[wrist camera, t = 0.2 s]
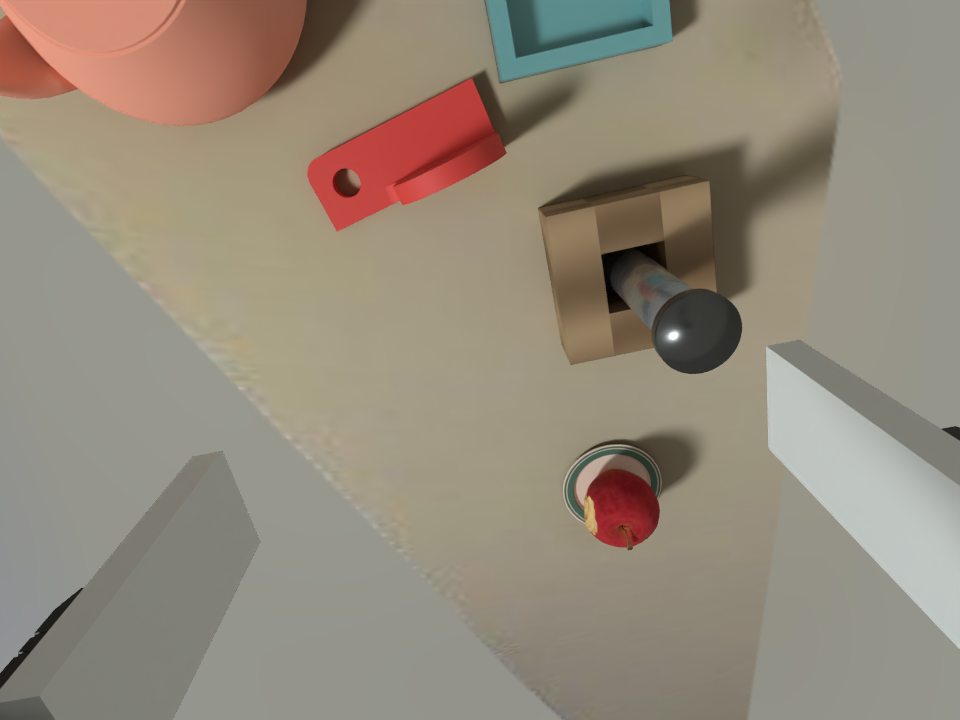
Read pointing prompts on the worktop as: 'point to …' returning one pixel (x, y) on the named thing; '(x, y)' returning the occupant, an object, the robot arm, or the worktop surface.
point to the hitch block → (616, 226)
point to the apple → (615, 494)
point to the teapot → (150, 53)
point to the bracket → (409, 156)
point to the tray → (571, 32)
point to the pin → (675, 312)
